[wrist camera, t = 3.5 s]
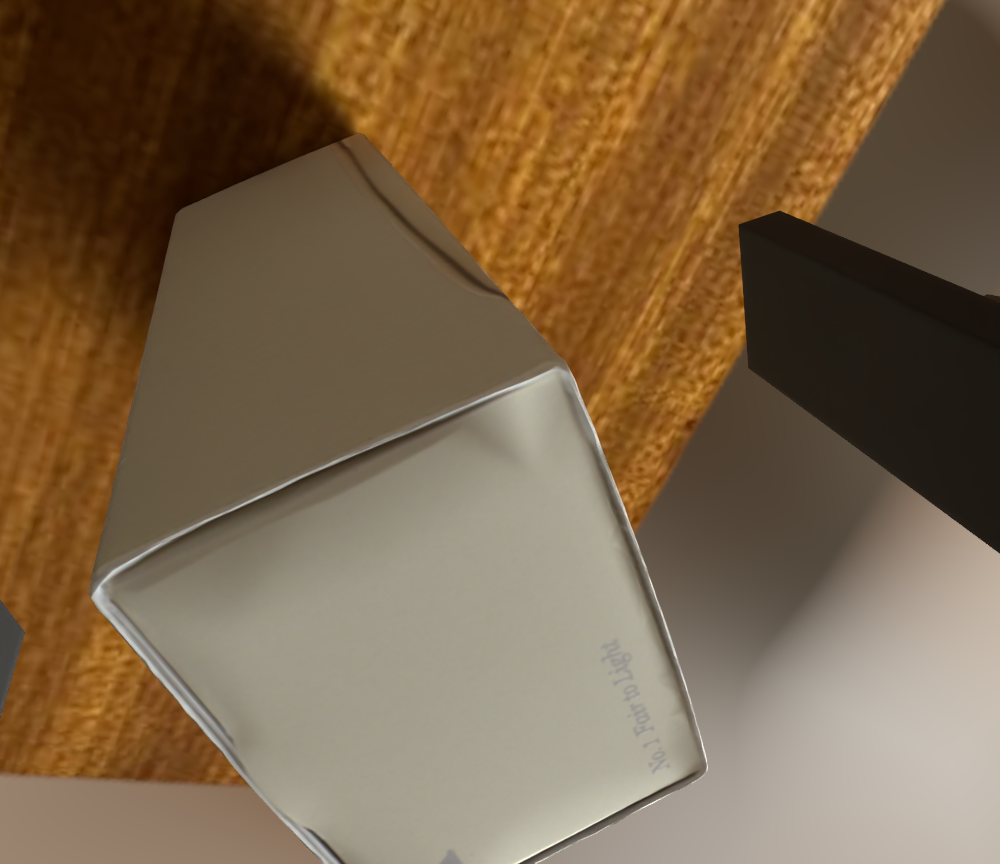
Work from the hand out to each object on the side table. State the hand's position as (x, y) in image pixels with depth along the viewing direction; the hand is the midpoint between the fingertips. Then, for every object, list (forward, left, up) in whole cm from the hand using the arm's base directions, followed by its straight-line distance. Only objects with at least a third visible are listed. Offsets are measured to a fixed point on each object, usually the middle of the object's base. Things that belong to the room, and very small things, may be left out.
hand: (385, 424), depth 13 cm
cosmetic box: (0, 0, -6) cm, 6 cm away
